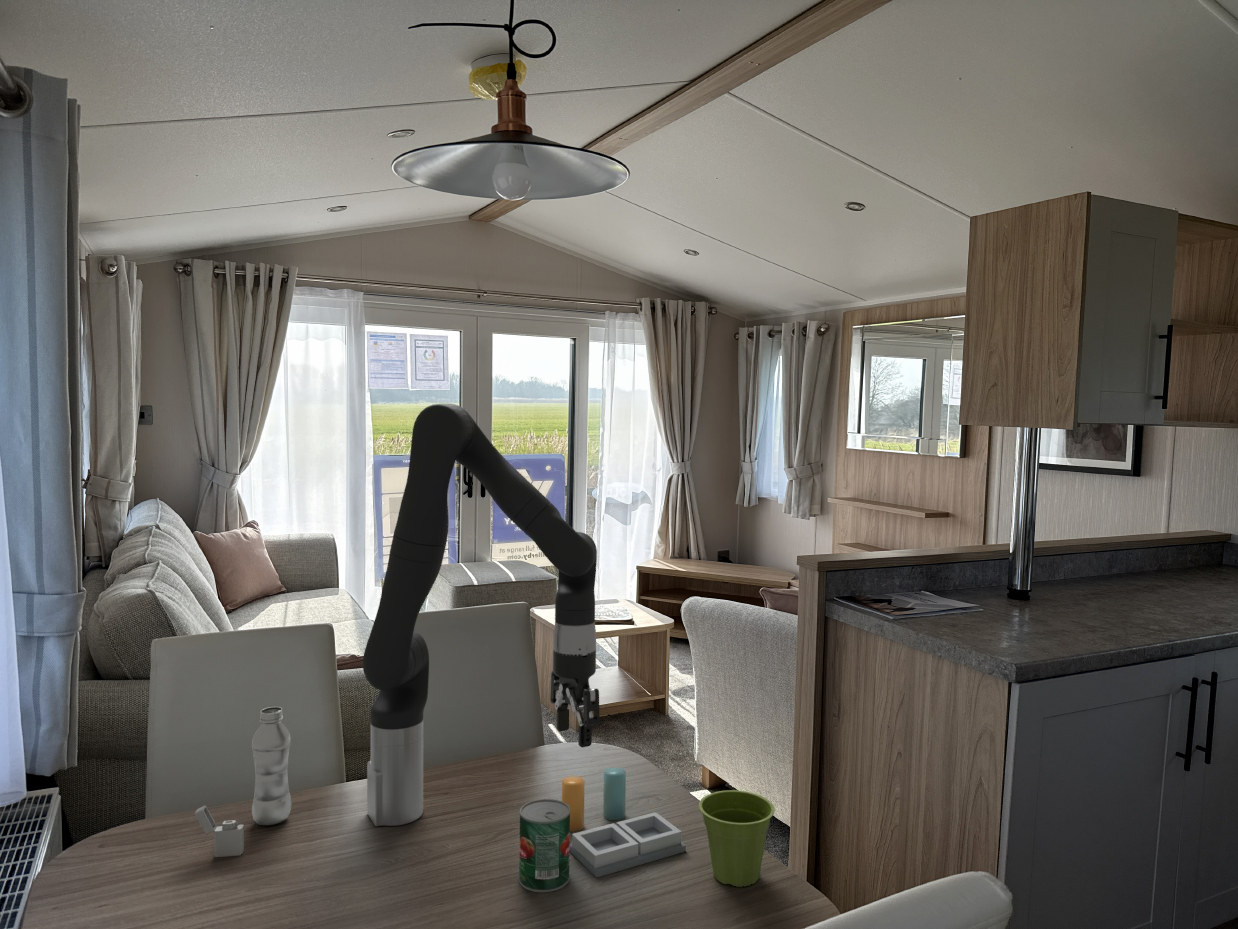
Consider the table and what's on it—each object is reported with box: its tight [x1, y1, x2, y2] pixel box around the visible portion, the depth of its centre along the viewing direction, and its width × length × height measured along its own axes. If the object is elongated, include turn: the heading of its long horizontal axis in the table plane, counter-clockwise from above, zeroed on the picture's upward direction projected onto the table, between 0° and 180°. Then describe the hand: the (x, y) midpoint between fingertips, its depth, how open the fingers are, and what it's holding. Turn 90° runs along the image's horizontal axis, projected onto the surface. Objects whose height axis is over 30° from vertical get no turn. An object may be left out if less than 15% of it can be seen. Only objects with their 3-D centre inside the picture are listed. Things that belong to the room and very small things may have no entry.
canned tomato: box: [518, 798, 571, 893], centre depth 129 cm, size 8×8×11 cm
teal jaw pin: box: [602, 767, 627, 821], centre depth 151 cm, size 4×4×8 cm
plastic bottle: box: [251, 706, 293, 826], centre depth 147 cm, size 6×7×20 cm
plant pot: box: [698, 789, 776, 888], centre depth 131 cm, size 12×12×11 cm
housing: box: [570, 812, 687, 878], centre depth 138 cm, size 17×10×3 cm, turn 120°
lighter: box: [194, 805, 245, 858], centre depth 135 cm, size 7×2×8 cm, turn 101°
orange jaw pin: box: [561, 776, 586, 832], centre depth 147 cm, size 4×4×8 cm
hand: (573, 738), depth 146 cm, fingers open, 8 cm apart
